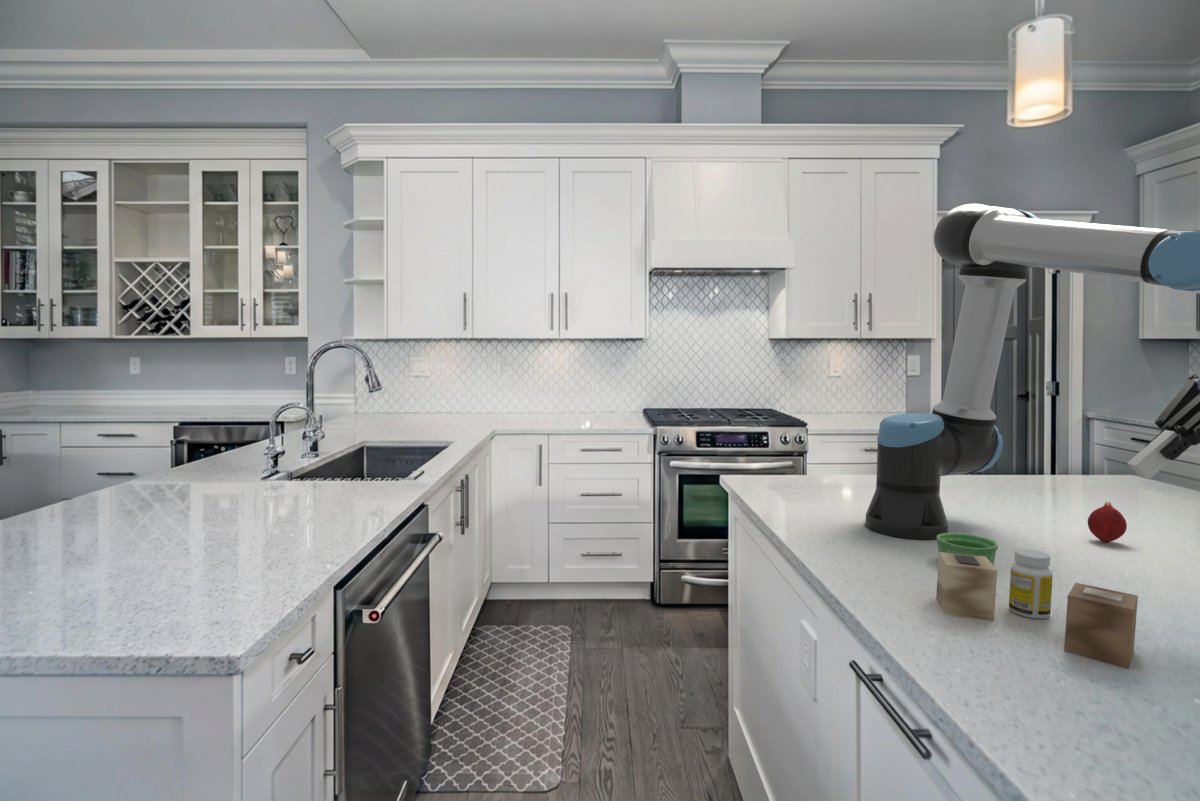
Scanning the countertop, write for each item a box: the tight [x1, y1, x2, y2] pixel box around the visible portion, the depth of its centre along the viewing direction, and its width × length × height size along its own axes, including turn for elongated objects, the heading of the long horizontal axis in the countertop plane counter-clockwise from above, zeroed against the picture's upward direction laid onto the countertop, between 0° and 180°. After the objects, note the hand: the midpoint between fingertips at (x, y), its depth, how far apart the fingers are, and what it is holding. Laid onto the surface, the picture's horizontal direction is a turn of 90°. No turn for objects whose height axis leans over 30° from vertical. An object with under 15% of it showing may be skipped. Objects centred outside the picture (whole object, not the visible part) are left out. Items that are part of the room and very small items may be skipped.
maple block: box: [935, 552, 998, 622], centre depth 88 cm, size 6×6×7 cm
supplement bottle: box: [1008, 548, 1054, 620], centre depth 87 cm, size 5×5×8 cm
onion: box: [1087, 501, 1128, 544], centre depth 120 cm, size 6×6×8 cm
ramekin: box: [936, 532, 999, 567], centre depth 107 cm, size 9×9×4 cm
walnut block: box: [1063, 582, 1139, 670], centre depth 75 cm, size 6×6×7 cm
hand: (1138, 471), depth 85 cm, fingers closed
